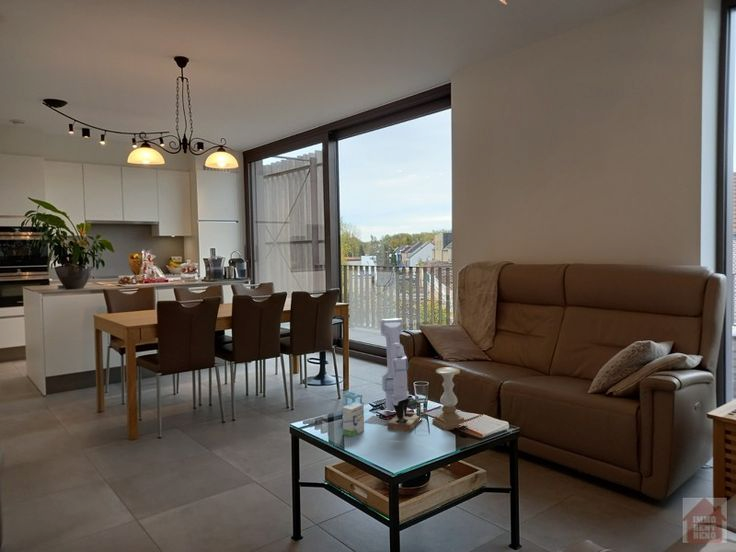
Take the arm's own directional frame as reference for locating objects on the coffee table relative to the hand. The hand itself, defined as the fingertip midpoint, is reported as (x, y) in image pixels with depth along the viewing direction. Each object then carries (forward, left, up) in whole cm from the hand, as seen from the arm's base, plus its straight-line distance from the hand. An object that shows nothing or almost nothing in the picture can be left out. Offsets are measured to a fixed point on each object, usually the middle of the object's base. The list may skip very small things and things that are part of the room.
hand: (401, 417), depth 226 cm
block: (-4, 0, -5) cm, 6 cm away
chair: (-5, -25, -5) cm, 26 cm away
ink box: (+12, -17, -5) cm, 21 cm away
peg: (0, 0, -3) cm, 3 cm away
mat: (-5, -13, -5) cm, 15 cm away
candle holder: (-10, +18, -5) cm, 21 cm away
